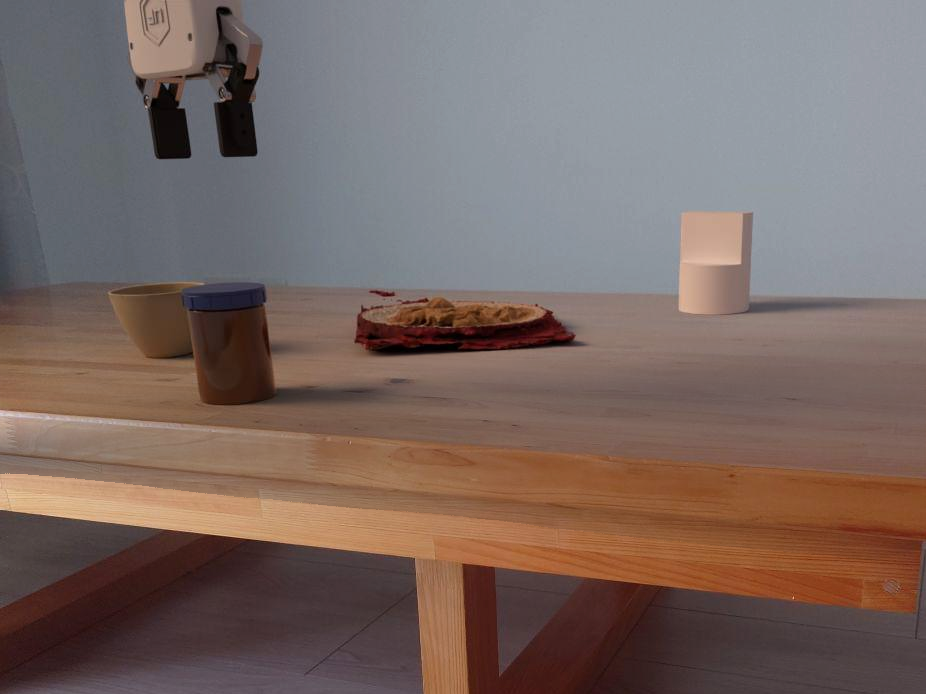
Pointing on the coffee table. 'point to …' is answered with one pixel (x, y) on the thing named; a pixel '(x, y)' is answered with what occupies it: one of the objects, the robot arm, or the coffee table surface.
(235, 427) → the coffee table surface
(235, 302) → the jar lid
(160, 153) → the robot arm
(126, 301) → the flower pot
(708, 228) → the base with upright slab
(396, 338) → the plate with food
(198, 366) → the jar
